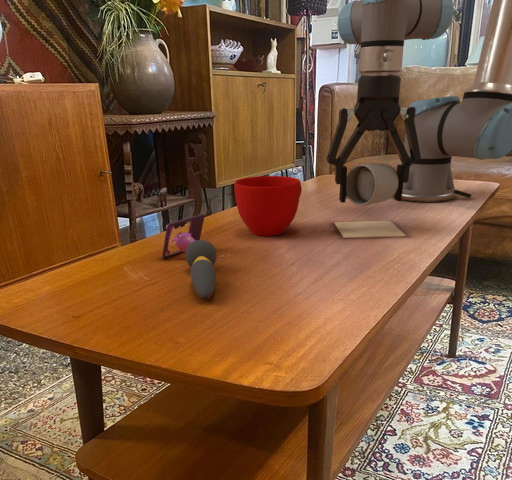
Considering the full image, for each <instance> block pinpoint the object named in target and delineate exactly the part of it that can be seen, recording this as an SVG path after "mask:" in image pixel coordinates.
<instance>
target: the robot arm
mask: <svg viewBox="0 0 512 480" xmlns="http://www.w3.org/2000/svg"><path fill="white" fill-rule="evenodd" d="M453 17H454V4H453V0H353V1H351V2H348V3H346V4H345V5H344V6H342V8H341V9H340V11H339V13H338V17H337V22H336V23H337V32H338V35H339V37H340V39H341V40H342V41H343V42H344V43H345V44H347V45H358V46H360V47H359V60H358V61H359V62H358V73H359V74H361V76H359V78H358V79H357V94H356V103H355V105H354V107H350V108H346V107H341V108H339V110H338V122H337V125H336V128H335V132H334V135H333V138H332V141H331V144H330V146H329V150H328V152H327V155H326V162H327V163H328V164H330V165H332V166H334V167H335V169H334V173H335V174H334V182H335V185H339V195H338V196H339V197H338V199H339V200H338V201H339V202H341V203H343V204H344V203H346V200H347V199H346V182H347V175H348V167H347V166H346V165H345V164H346V162H347V161H348V159H349V157H350V156H351V154H352V152H353V151H354V149H355V147H356V146H357V144H358V143H359V141H360V139H361V138H362V137H363V135H364V134H365V132H374V131H380V132H386V134H387V135H388V137H389V139H390V142H391V143H392V146H393V147H394V149H395V152H396V154H397V156H398V159H399V160H400V162H401V164H397V165H396V172H397V175H398V178H399V185H398V189H397V191H396V193H395V195H394V196H393V197H392V198H393V199H394V200H395V201H396V202H402V200H403V201H409V202H419V203H436V202H445V201H449V200H453V199H454V198H455V195H459V196H462V197H465V198H468V199H471V197H472V194H471V193H469V192H466V191H465V192H464V191H462V190H459V189H456V188H455V183H454V179H453V172H452V158H453V157H458V158H469V159H476V160H480V161H481V160H482V161H483V160H499V159H501V158H504V157H505V156H506V155H508V154H509V152H510V151H512V0H492V4H491V8H490V13H489V17H488V20H487V26H486V29H485V33H484V37H483V42H482V46H481V51H480V55H479V58H478V63H477V68H476V71H475V76H474V80H473V83H472V85H471V86H469V87H468V88H467V89H465V91H464V92H463V96H462V100H461V99H460V97H459V95H450V96H449V95H448V96H440V97H433V98H425V99H419V100H415V101H413V102H411V103H410V105H409V106H406V107H405V106H401V105H400V93H401V81H402V78H401V75H399V73H401V72H402V71H403V58H404V47H405V41H407V40H408V41H410V40H422V41H429V40H433V39H434V40H436V39H438V38H440V37H441V36H443V35H444V34H445V33H446V32H447V30H448V29H449V28H450V25H451V23H452V21H453ZM353 115H354V117H355V118H356V119H357V121H358V123H357V125H356V127H355V128H354V130H353V132H352V134H351V135H350V137H349V139H348V140H347V141H346V143H345V146H343V148H342V150H341V152H340V153H339V155H338V152H339V150H340V146H341V144H342V140H343V137H344V134H345V131H346V128H347V125H348V122H349V121H351V120H352V117H353ZM399 115H401V119H402V120H403V121H404V122H403V123H404V128H405V133H404V144H403V141H402V139H401V137H400V134H399V132H398V129H397V126H396V124H395V123H394V122H395V120H396V119H397V118H398V116H399ZM337 155H338V157H337Z"/></svg>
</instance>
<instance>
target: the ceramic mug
mask: <svg viewBox="0 0 512 480" xmlns="http://www.w3.org/2000/svg"><path fill="white" fill-rule="evenodd" d="M398 185H399V178H398V175H397V170H396V169H395V168H394V167H392V165H389V164H386V163H359V164H356V165H354V166H353V167H352V168H351V169H349V171H348V172H347V182H346V200H347V199H348V200H349V202H351V204H353V205H355V206H357V207H365V206H369V205H373V204H378V203H383V202H386V201H388V200H390V199H392V198H394V197H393V196H394V195H395V193H396V191H397V189H398Z"/></svg>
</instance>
